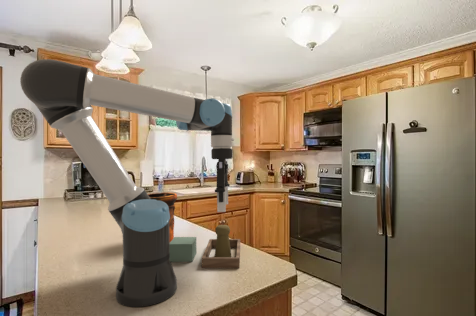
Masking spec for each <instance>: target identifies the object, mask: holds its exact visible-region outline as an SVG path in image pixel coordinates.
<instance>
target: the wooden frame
mask: <svg viewBox="0 0 476 316" xmlns="http://www.w3.org/2000/svg"><path fill="white" fill-rule="evenodd" d="M216 240H217V238H210V239H209V240H208V242H207V245H206V248H205V249H204V252H203V254H202V257H201V269H209V268H210V269H233V268H234V269H236V268H240V262H241V261H240V260H241V238H229V242H230V249H231V248H234V249H235V248H236V256H231V257H215V256H213V257H212V256H211V251H212V249H213V248H216ZM210 256H211V257H210Z"/></svg>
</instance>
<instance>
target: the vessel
mask: <svg viewBox="0 0 476 316" xmlns="http://www.w3.org/2000/svg"><path fill="white" fill-rule="evenodd" d="M147 194H148V196H149V197H150V199H154V200H157V201H158V200H160V201H163V202H165V203H166V204H167V205H168V207H169V213H170V219H169V232H170V242H171V241H172V240H173V238H174V236H175V235H174V234H175V232H174V231H175V209H176V206H175V205H176V204H175V203H176V201H177V200H178V195H177V193H175V192H169V191H167V192H164V191H163V192H156V193H154V192H153V193H147Z"/></svg>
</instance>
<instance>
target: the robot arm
mask: <svg viewBox="0 0 476 316" xmlns="http://www.w3.org/2000/svg"><path fill="white" fill-rule="evenodd" d="M20 87H21V90H22V91H23V94H24V95H25V97H26V98H28V100H30V101H31V102H32V103H33V104H34V105H35V106H36V108H37V109H38V111H39V112H40V113H41V116H43V118H44V119H45V120H46V122H47V124H48V125H49V126H50V127H51V128H52V129H55V130H59V131H60V132H61V133H62V134H63V136H64V137H65V139H66V141H67V142H68V144H69V145H70V146H71V148H72V149H73V151H74V152H75V153H76V155H77V156H78V157H79V159H80V161H81V162H82V163H83V165H84V167H85V168H86V171H88V172H89V174H90V175H91V177H92V178H93V180H94V181H95V183H96V184H97V186H98V187H99V189H100V190H101V191H102V193H103V194H104V196H105V197H106V199H107V201H108V202H109V204H108V208H107V210H108V212H109V213H110V215H111V216H112V218H113V220H114V221H115V222H116V224H117V225H118V227H119V228H120V230H121V235H122V268H121V272H120V275H119V277H118V281H117V284H116V287H115V299H116V301H117V302H118V303H119V304H121V305H122V306H126V307H132V308H133V307H135V308H136V307H137V308H139V307H148V306H149V307H150V306H152V305H157V304H160V303H162V302H164V301H166V300H167V299H169V298H171V297H172V296H173V295H174V294H175V293H176V291H177V288H178V287H177V286H178V282H177V281H178V280H177V276H176V274H175V270H174V268H173V264H172V262H170V232H169V219H170V213H169V207H168V205H167V204H166V203H165V202H163V201H160V200H158V201H157V200H154V199H150V197H149V196H148V194H149V193H148V192H147V191H146V189H145V188H144V187H142V186H137V185H136V183H135V182H134V180H133V179H132V177H131V175H130V174H129V173H128V171H127V169H126V168H125V166H124V165H123V163H122V161H121V160H120V159H119V157H118V156H117V154H116V153H115V151H114V150H113V147H112V146H111V144H110V143H109V141H108V140H107V137H106V136H105V135H104V134H103V132H102V130H101V129H100V128H99V126H98V125H97V123H96V121H95V119H94V118H93V116H92V114H93V111H94V108H93V107H98V108H99V107H101V108H106V109H110V110H116V111H121V112H128V113H133V114H136V115H137V114H138V115H144V116H147V117H153V118H158V119H159V118H160V119H164V120H170V121H175V123H176V124H175V125H176V126H177V127H176V128H177V129H178V130H179V131H186V132H189V131H192V132H193V131H198V132H199V131H200V132H201V131H202V132H205V131H206V132H210V146H211V148H212V149H211V152H210V153H211V154H210V155H211V159H212V160H217V162H216V166H215V167H216V188H215V189H214V193H216V205H217V208H216V209H217V213H226V210H227V209H226V208H227V205H229V187H230V186H231V185H230V183H229V181H228V174H229V164H228V161H227V160H233V155H234V153H233V150H234V149H233V148H231V147H233V142H234V141H235V139H234V137H233V113H232V106H231V105H230V104H229V103H225V102H221V101H220V100H219V99H216V98H213V97H212V98H206V99H201V98H199V97H198V98H197V97H193V96H189V95H184V94H179V93H176V92H172V91H168V90H163V89H159V88H155V87H150V86H146V85H142V84H138V83H134V82H130V81H126V80H121V79H118V78H112V77H109V76H105V75H101V74H100V75H99V74H96V73H95V72H93V70H92V69H91V68H90V67H85V66H82V65H79V64H78V65H77V64H73V63H70V62H66V61H61V60H58V59H49V58H46V59H43V58H42V59H38V60H35V61H32V62H30V63H29V64H27V66H25V67H24V69H23V70H22V72H21V75H20Z"/></svg>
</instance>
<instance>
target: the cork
mask: <svg viewBox="0 0 476 316" xmlns="http://www.w3.org/2000/svg"><path fill="white" fill-rule="evenodd" d="M230 232H231V228H230V226H229V225H227V224H218V225H217V226H215V234H216V239H217V240H216V248H215V250H214V257H232V252H231V251H232V249H231V248H230V242H229V239H230V237H229V235H230Z"/></svg>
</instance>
